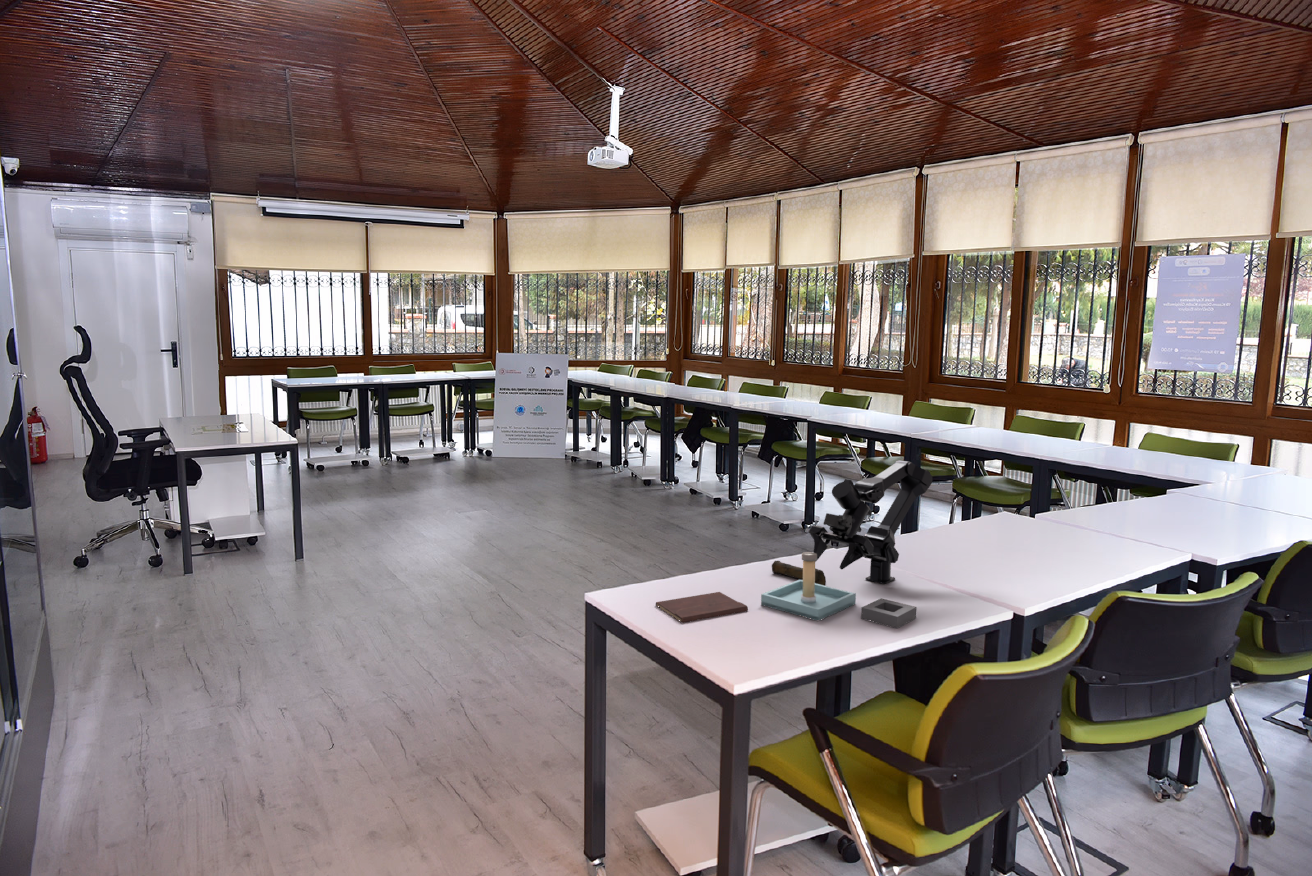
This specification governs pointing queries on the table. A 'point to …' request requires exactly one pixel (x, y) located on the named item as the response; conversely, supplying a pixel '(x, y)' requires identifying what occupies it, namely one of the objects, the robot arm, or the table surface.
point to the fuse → (808, 577)
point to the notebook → (701, 607)
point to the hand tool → (797, 572)
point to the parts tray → (824, 606)
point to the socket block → (888, 612)
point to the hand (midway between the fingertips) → (826, 565)
